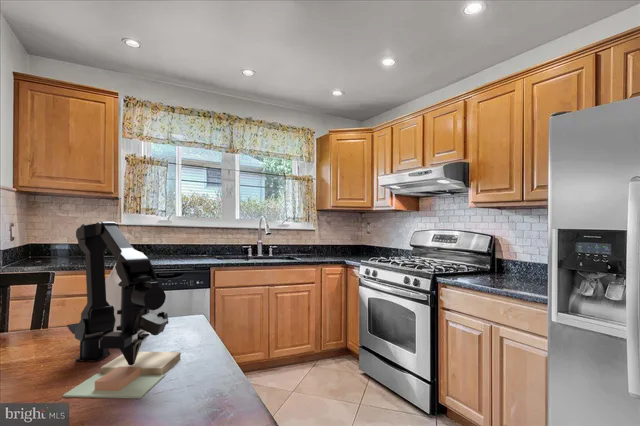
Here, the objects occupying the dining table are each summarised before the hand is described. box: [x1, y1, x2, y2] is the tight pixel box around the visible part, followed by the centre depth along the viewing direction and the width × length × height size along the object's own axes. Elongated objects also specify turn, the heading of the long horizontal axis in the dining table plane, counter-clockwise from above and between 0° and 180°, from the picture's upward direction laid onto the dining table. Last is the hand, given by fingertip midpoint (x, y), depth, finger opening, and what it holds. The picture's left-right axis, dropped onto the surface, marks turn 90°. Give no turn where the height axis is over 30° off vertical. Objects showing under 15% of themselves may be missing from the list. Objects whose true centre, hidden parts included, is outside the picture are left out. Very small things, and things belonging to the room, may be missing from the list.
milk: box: [105, 262, 149, 334], centre depth 126 cm, size 12×12×26 cm
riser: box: [100, 351, 181, 375], centre depth 99 cm, size 16×12×2 cm
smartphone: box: [66, 322, 79, 335], centre depth 136 cm, size 7×1×15 cm
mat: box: [62, 373, 166, 399], centre depth 87 cm, size 18×12×1 cm, turn 89°
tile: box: [94, 366, 141, 391], centre depth 88 cm, size 6×9×2 cm, turn 176°
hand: (131, 364), depth 93 cm, fingers closed
